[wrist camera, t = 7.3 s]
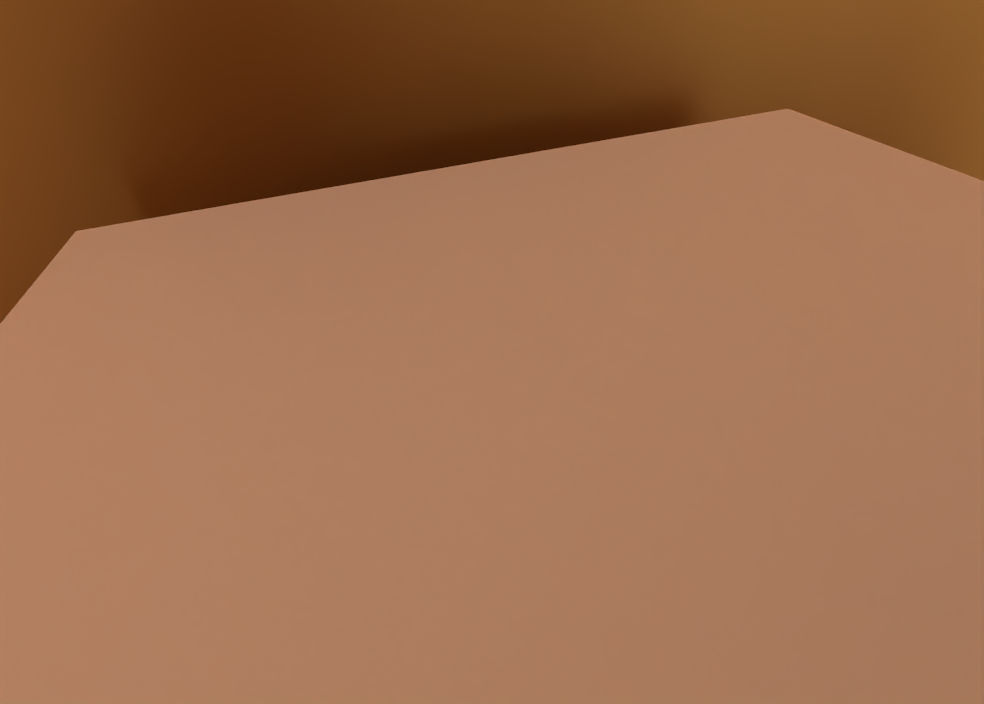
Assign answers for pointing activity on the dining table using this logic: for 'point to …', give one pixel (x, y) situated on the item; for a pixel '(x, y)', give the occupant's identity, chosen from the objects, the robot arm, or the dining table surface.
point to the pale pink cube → (512, 436)
